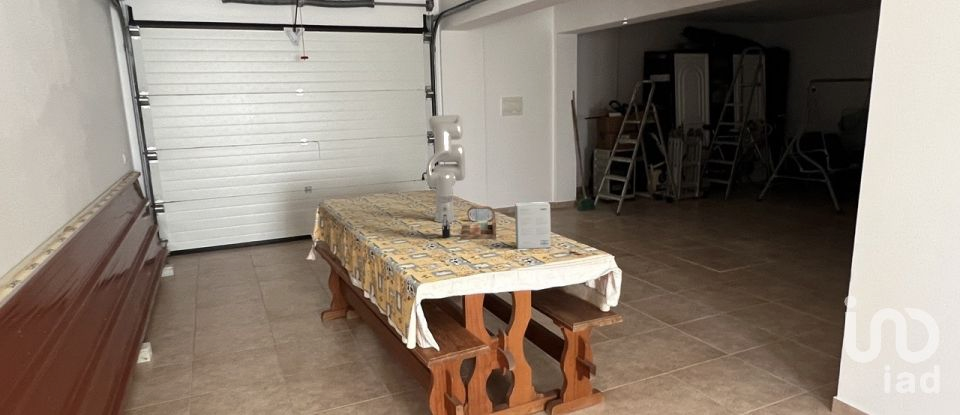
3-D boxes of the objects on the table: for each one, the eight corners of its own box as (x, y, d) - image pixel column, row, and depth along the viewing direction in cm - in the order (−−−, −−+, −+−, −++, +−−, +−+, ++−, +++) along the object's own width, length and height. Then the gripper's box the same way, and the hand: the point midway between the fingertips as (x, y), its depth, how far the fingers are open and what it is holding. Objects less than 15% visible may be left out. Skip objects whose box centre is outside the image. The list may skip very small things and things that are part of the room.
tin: (494, 220, 326) (494, 205, 324) (494, 222, 322) (494, 206, 321) (467, 220, 327) (467, 206, 325) (467, 222, 324) (466, 207, 322)
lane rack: (460, 239, 285) (459, 223, 283) (461, 228, 307) (461, 214, 306) (496, 238, 284) (495, 222, 283) (495, 228, 307) (494, 213, 305)
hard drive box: (548, 243, 273) (548, 201, 269) (551, 248, 265) (551, 204, 261) (515, 244, 272) (514, 202, 268) (516, 249, 265) (516, 205, 261)
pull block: (442, 238, 288) (441, 226, 287) (442, 235, 293) (442, 224, 292) (480, 237, 288) (480, 225, 287) (480, 235, 293) (480, 223, 292)
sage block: (477, 232, 299) (477, 222, 298) (478, 230, 304) (477, 220, 303) (487, 232, 299) (487, 222, 298) (487, 230, 304) (487, 220, 303)
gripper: (451, 202, 279) (453, 239, 282) (453, 196, 295) (454, 231, 299) (436, 202, 279) (437, 240, 282) (438, 196, 295) (439, 232, 299)
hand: (446, 235), depth 290 cm, fingers closed on pull block, 4 cm apart
